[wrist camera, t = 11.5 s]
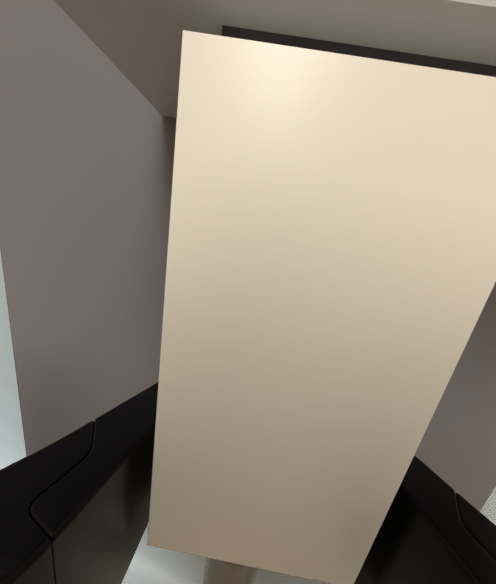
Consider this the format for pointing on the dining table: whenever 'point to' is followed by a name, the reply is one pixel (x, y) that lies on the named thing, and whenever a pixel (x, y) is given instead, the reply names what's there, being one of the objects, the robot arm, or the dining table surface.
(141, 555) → the dining table surface
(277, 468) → the plug
